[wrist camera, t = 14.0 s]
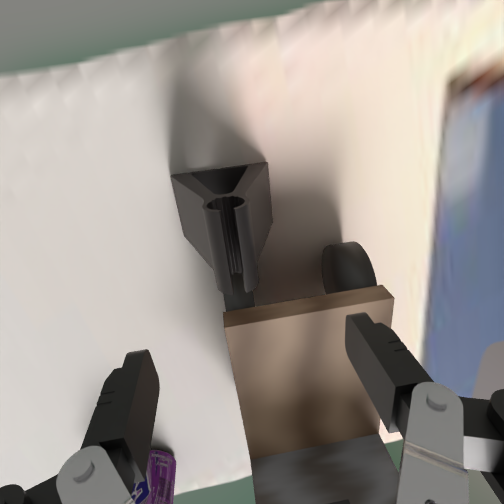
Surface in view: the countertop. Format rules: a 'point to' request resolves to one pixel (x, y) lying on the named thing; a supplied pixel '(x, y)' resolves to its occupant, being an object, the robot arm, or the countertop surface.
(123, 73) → the countertop surface
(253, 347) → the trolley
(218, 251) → the phone stand
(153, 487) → the beverage can
